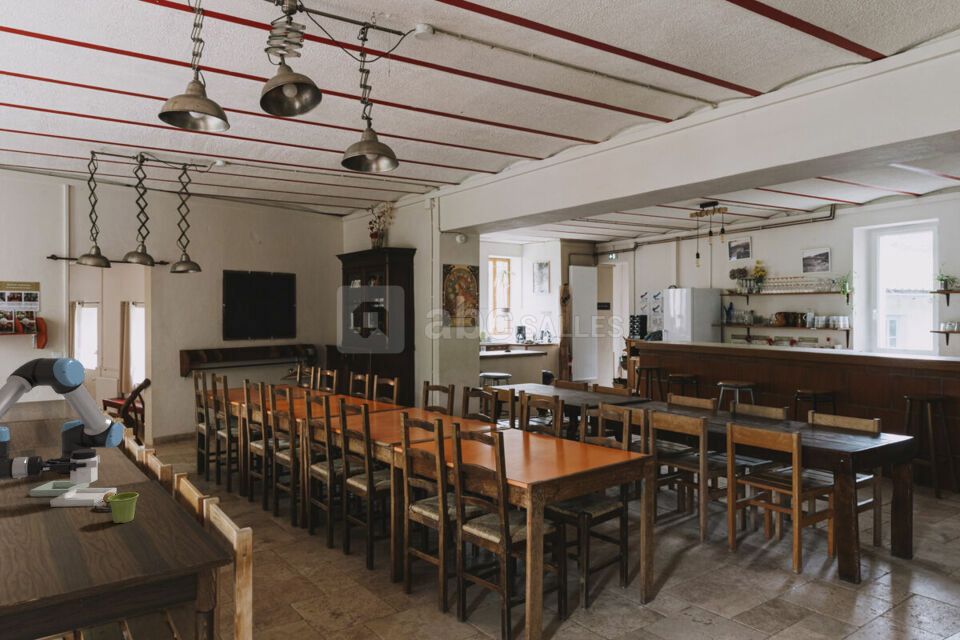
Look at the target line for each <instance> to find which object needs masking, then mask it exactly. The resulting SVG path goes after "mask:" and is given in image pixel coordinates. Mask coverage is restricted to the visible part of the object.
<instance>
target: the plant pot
mask: <svg viewBox="0 0 960 640" xmlns="http://www.w3.org/2000/svg"><path fill="white" fill-rule="evenodd" d="M139 495H140V494H139V493H138V492H121V493H117V494H116V495H113V496H110V497H108V500H109V502H110V504H111V509H112V512H111V515H112V520H113V523H114V524H119V523H124V524H125V523H129V522H132V521H133V520H134V519H135V512H136V503H137V500H138V497H139Z"/></svg>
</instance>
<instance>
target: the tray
mask: <svg viewBox="0 0 960 640" xmlns="http://www.w3.org/2000/svg"><path fill="white" fill-rule="evenodd" d="M117 490H118V489H117V487H87V488H75V489H73V490H71V491H69V492H67V493H65V494H62V495H60V496H55V497H54V498H52V499H50V507H95V505H96V504H98V503H100V502H102V501H103V502H104V500H103V497H104V495H105V494H107V493H109V492H114V495H115V494H118V493H117V492H118V491H117ZM105 491H106V492H105Z"/></svg>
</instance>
